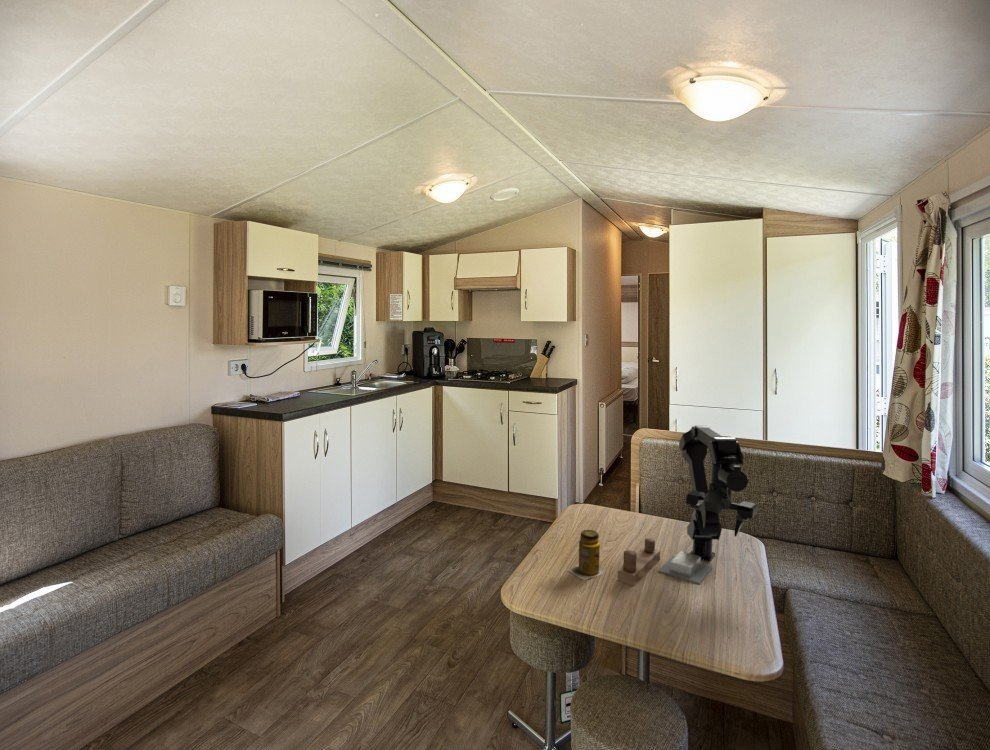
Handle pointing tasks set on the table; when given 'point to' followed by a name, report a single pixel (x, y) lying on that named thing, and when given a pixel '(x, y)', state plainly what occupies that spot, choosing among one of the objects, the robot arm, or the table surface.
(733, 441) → the robot arm
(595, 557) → the condiment
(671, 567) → the lever cap
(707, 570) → the rubber mat
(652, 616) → the table surface
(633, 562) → the plane body
